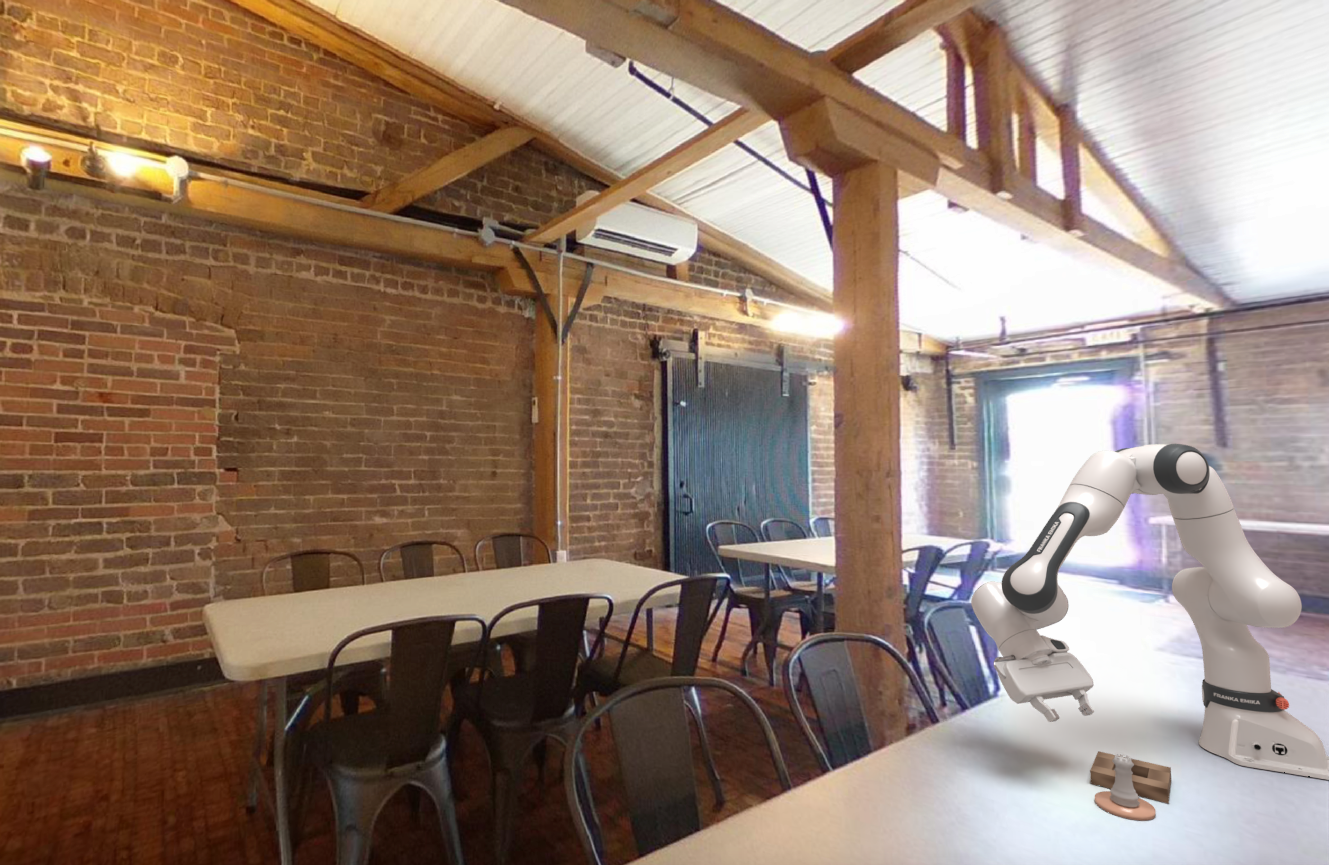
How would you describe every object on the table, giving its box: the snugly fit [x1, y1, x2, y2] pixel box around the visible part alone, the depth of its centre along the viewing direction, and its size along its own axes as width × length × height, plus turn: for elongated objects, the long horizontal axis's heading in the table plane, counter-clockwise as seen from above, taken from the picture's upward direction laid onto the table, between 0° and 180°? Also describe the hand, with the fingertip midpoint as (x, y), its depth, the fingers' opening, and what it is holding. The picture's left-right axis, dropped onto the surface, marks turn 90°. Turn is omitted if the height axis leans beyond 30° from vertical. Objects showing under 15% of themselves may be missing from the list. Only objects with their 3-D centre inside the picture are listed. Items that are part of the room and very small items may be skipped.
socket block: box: [1089, 751, 1172, 804], centre depth 128 cm, size 12×12×2 cm
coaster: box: [1094, 790, 1157, 822], centre depth 118 cm, size 9×9×1 cm
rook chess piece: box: [1109, 753, 1140, 808], centre depth 118 cm, size 4×4×8 cm
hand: (1072, 717), depth 128 cm, fingers open, 8 cm apart
